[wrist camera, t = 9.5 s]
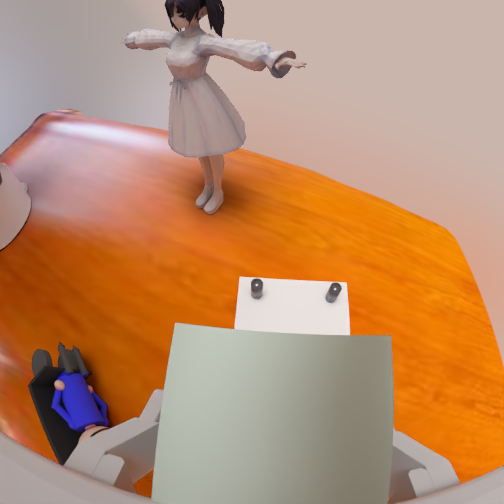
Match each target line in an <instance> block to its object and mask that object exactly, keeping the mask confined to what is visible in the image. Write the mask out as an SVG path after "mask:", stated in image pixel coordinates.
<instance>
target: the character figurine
mask: <svg viewBox="0 0 504 504" xmlns="http://www.w3.org/2000/svg"><path fill="white" fill-rule="evenodd" d="M58 350H59V353H60V355H59V358H58V367H53V365H52V359H51V356H50V354H49V353H48V352H47V351H46V350H41V349H37V350H36V351H35V352H34V354H33V357H32V370H33V373H34V376H35V377H34V378H33V379H32V381H31V382H30V384H29V385H28V387H29V390H30V393H31V396H32V399H33V402H34V405H35V408H36V410H37V413H38V416H39V418H40V421H41V423H42V426H43V428H44V431H45V433H46V436H47V438H48V440H49V443H50V445H51V447H52V449H53V451H54V453H55V456H56V458H57V460H58V462H59V464H60V465H62V466H64V464H65V463H66V461H67V460H68V458H69V457H70V455H71V454H72V452H73V451H74V449H75V448H76V447H77V445H78V444H79V442H80V441H83V440H85V439H88V438H90V437H92V436H95V435H97V434H99V433H102V432H104V431H106V430H108V429H110V428H108V427H106V426H108V424H109V421H108V419H106V414H107V404H106V403H104V402H103V401H102V400H101V399H100V398H99V396H98V395H97V394H96V393H95V392H94V391H93V388H92V387H91V386H90V385H87V383H86V381H85V380H86V379H87V378H88V377H89V376H90V375H91V374H92V371H88V370H87V369H86V367H85V364H84V362H83V359H82V357H81V354H80V352H79V349H77V348H76V347H75V346H74V345H73V350H69V349H65V346H64V345H63V344H62V343H60V342H59V345H58ZM95 402H96V403H97V404H98V405H99V406H100V407H101V409H100V412H99V410H98V407H97V405H96V403H95Z"/></svg>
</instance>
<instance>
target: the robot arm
mask: <svg viewBox="0 0 504 504" xmlns="http://www.w3.org/2000/svg"><path fill="white" fill-rule="evenodd" d="M27 190H28V186H27V184H26V183H25V182H23V183H20V182H19V181H18V179H17V178H16V177H15V175H14V174H13V173H12V172H11V170H10V169H9V168H8V166H7V165H6V164H5V163H0V250H1V249H3V248H4V247H5V246H6V245H8V244H9V243H10V242H11V241H12V240H13V239H14V237H15V236H16V235H17V234H18V232H19V231H20V230H21V228H22V227H23V225H24V223H25V221H26V219H27V217H28V215H29V212H30V208H31V199H30V197H29V195H28V193H27ZM163 392H164V390H162V389H156V390H154V391H153V393H152V395H151V397H150V399H149V401H148V402H147V404H146V406H145V408H144V410H143V412H142V413H141V415H140V417H139V418H137V417H134V418H132V419H130V420H128V421H126V422H124V423H121V424H119V425H117V426H115V427H113V428H110V429H108V430H106V431H104V432H102V433H99V434H97V435H95V436H92V437H90V438H88V439H85V440H83V441H80V442H79V444H78V445H77V447H76V448H75V449H74V451H73V452H72V454H71V455H70V457H69V458H68V460H67V461H66V463H65V464H64V466H62V465H60V464H58V463H56V462H54V461H52V460H50V459H48V458H46V457H44V456H42V455H40V454H38V453H36V452H35V451H33V450H31V449H29V448H28V447H26V446H24V445H22V444H21V443H19V442H17V441H16V440H14V439H13V438H11V437H9V436H8V435H6V434H5V433H3V432H2V431H0V504H164V503H160V502H156V501H152V500H151V498H149V497H146V496H142V495H138V493H137V491H136V489H135V486H134V483H135V482H137V481H138V480H139V479H141V478H142V477H144V476H145V475H146V474H148V473H149V472H151V471H152V470H153V469H154V464H155V454H156V445H157V437H158V429H159V421H160V413H161V406H162V399H163ZM388 496H389V497H390V499H389V500H388V503H387V504H504V465H503V466H501V467H499V468H497V469H495V470H492V471H490V472H488V473H486V474H484V475H481V476H479V477H477V478H474V479H472V480H469V481H467V482H464V483H462V484H461V483H460V481H459V479H458V477H457V475H456V473H455V472H454V470H453V468H452V466H451V464H450V462H449V460H447V459H446V458H444V457H442V456H440V455H439V454H437V453H435V452H433V451H432V450H430V449H428V448H427V447H425V446H423V445H422V444H420V443H418V442H417V441H415V440H413V439H412V438H410V437H408V436H407V435H405V434H404V433H402V432H400V431H397V432H396V430H395V428H394V426H393V450H392V465H391V476H390V486H389V495H388Z"/></svg>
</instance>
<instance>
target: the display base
mask: <svg viewBox="0 0 504 504" xmlns="http://www.w3.org/2000/svg"><path fill="white" fill-rule="evenodd" d="M234 329H239V330H250V331H263V332H278V333H296V334H318V335H350V323H349V307H348V293H347V282H325V281H304V280H286V279H268V278H252V277H240V279H239V289H238V298H237V308H236V317H235V327H234Z"/></svg>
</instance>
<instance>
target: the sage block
mask: <svg viewBox="0 0 504 504" xmlns="http://www.w3.org/2000/svg"><path fill="white" fill-rule="evenodd" d="M393 424H394V387H393V361H392V345H391V335H318V334H296V333H278V332H263V331H250V330H239V329H228V328H218V327H208V326H199V325H191V324H182V323H175V327H174V332H173V338H172V344H171V349H170V355H169V361H168V367H167V373H166V379H165V386H164V392H163V399H162V406H161V413H160V421H159V429H158V437H157V445H156V454H155V464H154V474H153V485H152V497H151V500H152V501H156V502H160V503H164V504H387V503H388V495H389V486H390V476H391V465H392V450H393Z"/></svg>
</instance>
